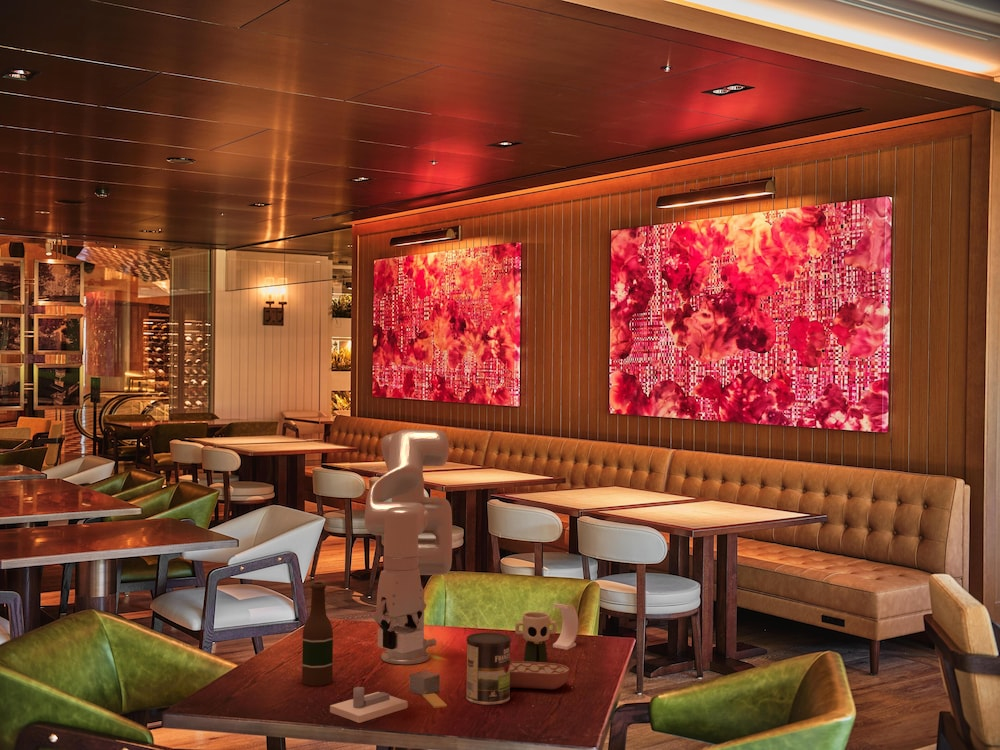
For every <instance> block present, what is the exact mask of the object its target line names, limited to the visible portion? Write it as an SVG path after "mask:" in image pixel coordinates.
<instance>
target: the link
mask: <svg viewBox="0 0 1000 750" xmlns="http://www.w3.org/2000/svg"><path fill="white" fill-rule="evenodd" d="M392 631H395V648H394V649H392V651H396V652H400V653H406V652H410V651H413V650H417V649H420V648H423V630H422V629H418V628H413V627H409V626H405V625H401V624H394V627H393V630H392ZM377 648H382V649H386V650H388V649H387V648H384V647H383V630H382V629H381V628H380V627H379V628H377ZM389 650H391V649H389Z"/></svg>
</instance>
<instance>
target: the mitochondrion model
mask: <svg viewBox="0 0 1000 750" xmlns="http://www.w3.org/2000/svg"><path fill="white" fill-rule="evenodd" d="M569 674H570V668H569V667H568V666H566V665H565V664H561V663H556V662H547V663H544V662H527V661H524V660H522V661H521V660H510V689H513V688H514V689H515V688H516V689H518V688H519V689H532V690H533V689H534V690H536V689H537V690H545V691H546V690H548V691H549V690H550V691H551V690H552V691H553V690H557V689H559V688H560V687H562V686H563V685H564V684H566V682H567V680H568V679H569Z"/></svg>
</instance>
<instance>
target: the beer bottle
mask: <svg viewBox="0 0 1000 750" xmlns="http://www.w3.org/2000/svg"><path fill="white" fill-rule="evenodd" d="M326 588H327V587H326V583H325V582H322V581H315V582H312V583H311V586H310V589H311V600H310V601H311V603H310V610H309V611H310V612H309V617H307V619H306V621H305V623H304V624H303V629H302V659H301V660H302V662H301V663H302V664H301V668H302V669H301V671H302V672H301V673H302V674H301V677H302V680H301V681H302V684H303V686H309V687H325V686H327V685H330V684H332V682H333V675H334V674H333V673H334V671H333V667H334V666H333V665H334V664H333V663H334V661H333V660H334V659H333V656H334V652H333V651H334V634H333V626H332V623H331V620H330V618H329V617H328V616H327V612H326V592H325V591H326V590H325V589H326Z"/></svg>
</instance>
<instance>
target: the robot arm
mask: <svg viewBox="0 0 1000 750" xmlns="http://www.w3.org/2000/svg"><path fill="white" fill-rule="evenodd" d="M380 445H381V446H380V447H381V448H380V449H381V454H382V457H383V460H384V462H385V465H386V468H387V472H385V473H384V474H382V475H381V476H380V477H379V478H377V480H376V481H374V482H373V484H372V485H371V486H370V488H369V490H368V491H367V494H366V499H365V500H366V501H365V507H364V508H365V510H364V526H365V530H366V531H367V532H368V533H369V534H371V535H373V536H383V570H381V571H380V573H379V574H380V575H379V579H378V586H377V591H376V592H377V593H376V610H375V611H374V612H373V615H372V619H374V621H375V622H376V623H377V625H378V626H379V628H381V629H382V630H383V647H384V648H383V649H385V648H387V649H386V650H385V651H383V652H382V653H381V657H380V658H381V660H382V661H383V662H384V663H385V662H386V663H388V664H391V665H392V664H394V665H416V664H421V663H424V662H427V661H428V660H429V659H430V652H428V651H427V649H429V648H431V647H434V646H436V645H437V640H436V639H435V638H430V639H426V638H425V636H424V635H425V609H426V608H427V604H426V603H425V590H424V588H423V586H422V580H421V576H443V575H446V574H448V573H449V572H450V571H451V568H452V564H453V563H452V562H453V513H452V512H453V510H452V506H451V503H450V502H449V500H448V499H446V498H444V497H440V496H437V497H435V496H432V497H431V496H425V477H424V467H441V466H444V465H445V464H446V463H447V462H448V459H449V455H450V443H449V438H448V435H447V433H446V432H444V431H443V430H440V429H412V428H411V429H401V430H399V431H396V432H393V433H390V434H387V435H384V436H383V438H382V439H381V444H380ZM390 499H391V501H388V500H390ZM421 534H430V535H431V534H432V536H434V538H429V537H428V538H423V537H422V538H420V537H419V535H421ZM394 624H401V625H405V626H409V627H413V628H418V629H422V630H423V648H420V649H417V650H413V651H410V652H406V653H400V652H396V651H392V649H394V648H395V631H392V630H393V627H394ZM389 649H391V650H389Z"/></svg>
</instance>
